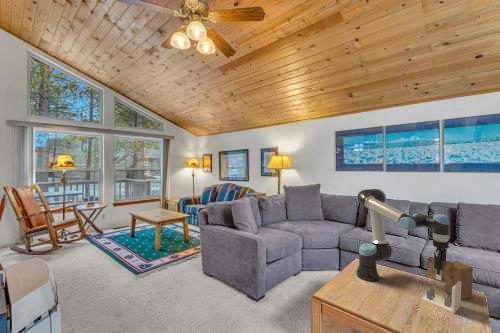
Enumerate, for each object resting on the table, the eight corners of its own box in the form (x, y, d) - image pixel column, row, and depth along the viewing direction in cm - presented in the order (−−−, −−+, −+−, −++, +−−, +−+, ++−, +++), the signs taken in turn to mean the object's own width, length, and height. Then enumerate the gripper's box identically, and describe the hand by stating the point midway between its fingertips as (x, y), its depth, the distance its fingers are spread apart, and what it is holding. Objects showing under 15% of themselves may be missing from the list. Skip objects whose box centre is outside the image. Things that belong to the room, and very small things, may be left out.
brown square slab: (427, 277, 150) (427, 258, 150) (429, 275, 153) (430, 256, 152) (451, 285, 141) (451, 265, 140) (453, 283, 143) (454, 263, 142)
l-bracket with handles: (421, 300, 150) (422, 276, 149) (428, 293, 157) (429, 271, 156) (454, 314, 137) (454, 288, 136) (460, 306, 144) (461, 281, 143)
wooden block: (461, 300, 150) (462, 269, 149) (444, 291, 159) (445, 262, 158) (472, 298, 152) (473, 267, 151) (455, 289, 162) (456, 260, 161)
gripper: (443, 245, 138) (442, 285, 139) (453, 239, 148) (452, 276, 148) (427, 241, 144) (427, 279, 145) (438, 236, 154) (437, 272, 155)
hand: (440, 278), depth 147 cm, fingers closed on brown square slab, 4 cm apart
